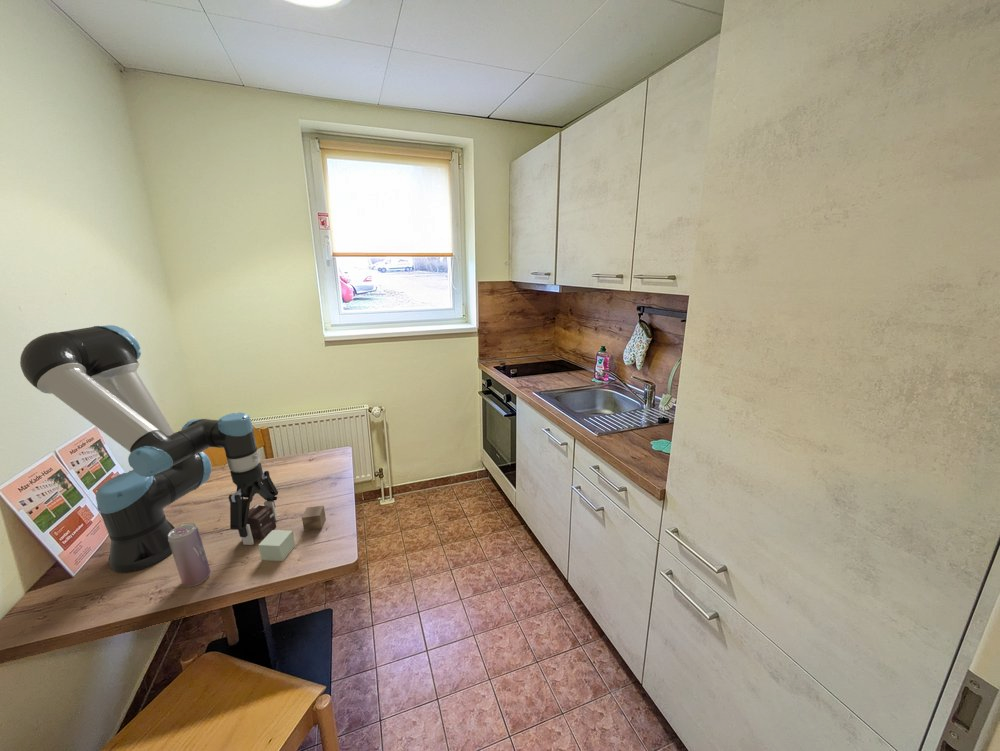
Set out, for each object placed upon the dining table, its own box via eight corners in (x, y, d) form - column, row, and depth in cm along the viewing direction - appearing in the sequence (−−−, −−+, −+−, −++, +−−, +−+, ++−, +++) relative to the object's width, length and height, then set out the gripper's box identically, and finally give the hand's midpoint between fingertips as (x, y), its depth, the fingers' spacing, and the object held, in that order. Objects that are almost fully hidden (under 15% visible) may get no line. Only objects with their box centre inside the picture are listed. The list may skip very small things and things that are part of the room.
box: (261, 540, 114) (256, 519, 112) (244, 537, 115) (239, 516, 113) (277, 526, 120) (272, 506, 118) (260, 524, 121) (255, 504, 119)
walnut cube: (304, 531, 117) (301, 517, 116) (309, 521, 122) (306, 507, 121) (322, 529, 118) (319, 515, 117) (326, 519, 123) (323, 505, 122)
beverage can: (193, 570, 103) (178, 523, 99) (216, 569, 104) (202, 521, 99) (176, 588, 98) (160, 539, 93) (201, 587, 98) (186, 537, 94)
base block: (261, 560, 106) (258, 545, 105) (275, 544, 112) (272, 530, 111) (282, 561, 106) (279, 545, 104) (295, 545, 112) (292, 530, 110)
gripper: (228, 489, 100) (246, 559, 106) (282, 447, 122) (294, 508, 128) (201, 488, 100) (220, 558, 107) (259, 447, 122) (273, 507, 129)
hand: (261, 531), depth 117 cm, fingers open, 10 cm apart
